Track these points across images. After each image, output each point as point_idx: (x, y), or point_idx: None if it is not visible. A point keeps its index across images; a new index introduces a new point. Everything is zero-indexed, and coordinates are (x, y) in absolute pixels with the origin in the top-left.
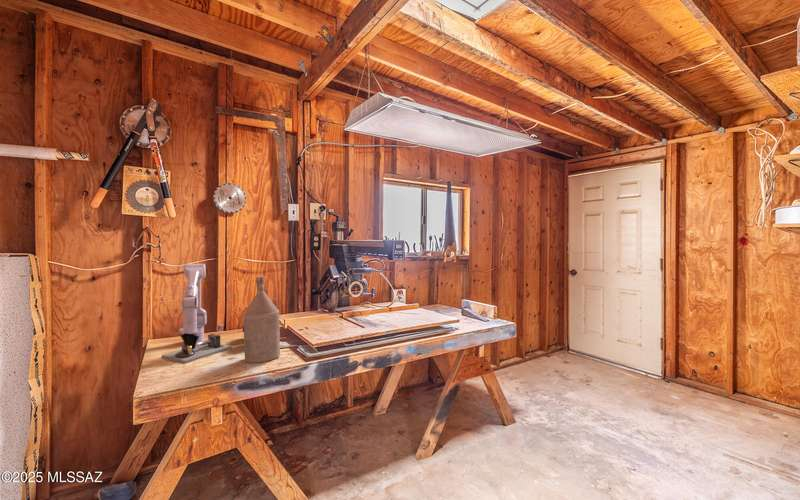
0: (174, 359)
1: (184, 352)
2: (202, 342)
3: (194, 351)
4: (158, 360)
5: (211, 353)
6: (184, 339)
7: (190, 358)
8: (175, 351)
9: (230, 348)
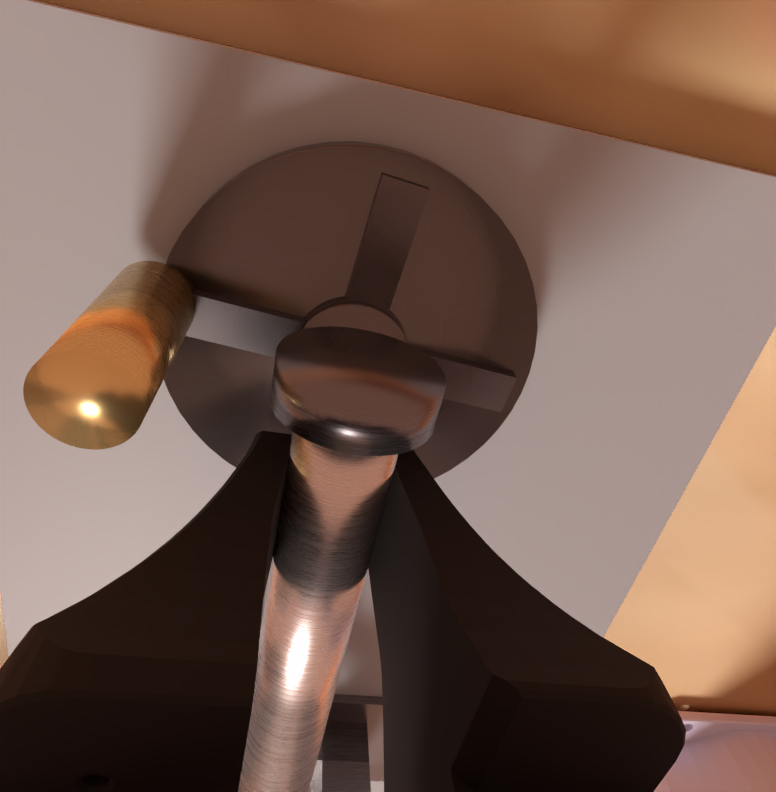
0: (398, 87)
1: (319, 316)
2: (262, 717)
3: None
4: (770, 4)
5: (3, 540)
6: (452, 600)
7: (6, 178)
8: (699, 425)
9: None
